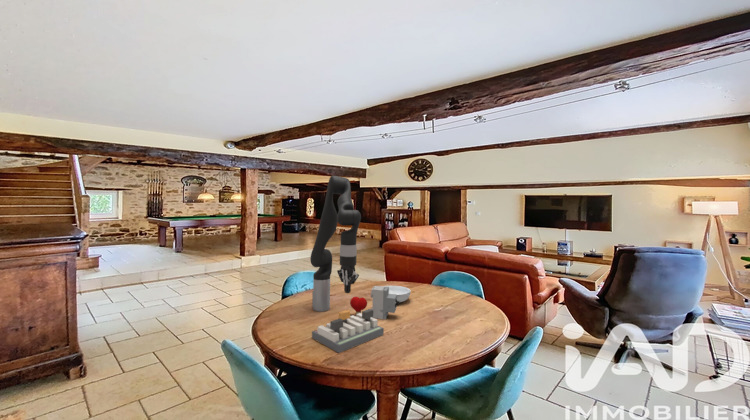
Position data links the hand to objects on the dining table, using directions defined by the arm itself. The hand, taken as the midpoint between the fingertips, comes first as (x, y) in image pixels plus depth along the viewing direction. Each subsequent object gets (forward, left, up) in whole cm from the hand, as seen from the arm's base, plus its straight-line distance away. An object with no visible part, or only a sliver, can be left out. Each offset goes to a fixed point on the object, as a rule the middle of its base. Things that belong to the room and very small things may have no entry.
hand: (347, 292), depth 146 cm
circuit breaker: (-5, +30, -20) cm, 37 cm away
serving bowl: (-20, +53, -20) cm, 60 cm away
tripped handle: (-2, 0, -16) cm, 17 cm away
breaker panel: (+1, 0, -20) cm, 20 cm away
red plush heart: (-15, +20, -20) cm, 32 cm away
